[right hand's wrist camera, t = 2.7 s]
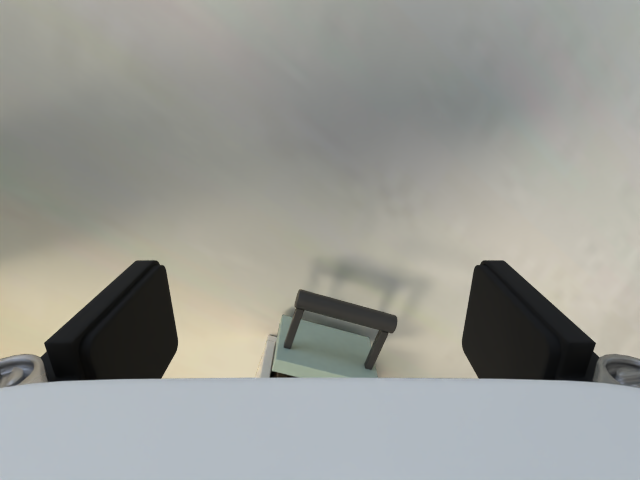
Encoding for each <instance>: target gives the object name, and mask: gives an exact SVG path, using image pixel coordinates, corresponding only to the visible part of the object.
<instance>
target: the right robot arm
mask: <svg viewBox="0 0 640 480" xmlns="http://www.w3.org/2000/svg"><path fill="white" fill-rule="evenodd" d="M44 344H45V347H46V350H47V352H46V353H45V354H44V355H43V356H42V357H38V356H36V355H31V354H21V355H14V356H10V357H6V358H2V359H0V480H640V359H638V358H634V357H630V356H626V355H619V354H609V355H604V356H602V357H598V356H597V355H596V354H595V353H594V352H593V350H594V347H595V344H596V343H595V342H594V341H593V340H592V339H591V338H590V337H588V336H587V335H586V334H585V333H584V332H583V331H582V330H581V329H580V328H578V327H577V326H576V325H575V324H574V323H573V322H572V321H571V320H570V319H568V318H567V317H566V316H565V315H564V314H563V313H562V312H561V311H560V310H558V309H557V308H556V307H555V306H554V305H553V304H552V303H551V302H550V301H548V300H547V299H546V298H545V297H544V296H543V295H542V294H541V293H539V292H538V291H537V290H536V289H535V288H534V287H533V286H532V285H531V284H529V283H528V282H527V281H526V280H525V279H524V278H523V277H522V276H521V275H519V274H518V273H517V272H516V271H515V270H514V269H513V268H512V267H511V266H509V265H508V264H507V263H506V262H505V261H482V262H481V264H480V265H477V266H476V267H475V268H474V273H473V279H472V285H471V290H470V296H469V302H468V308H467V314H466V320H465V326H464V331H463V337H462V347H463V351H464V353H465V355H466V357H467V358H468V360H469V362H470V364H471V365H472V367H473V369H474V371H475V373H476V374H477V376H478V378H479V379H459V378H183V379H161V378H162V376H163V374H164V373H165V371H166V369H167V367H168V365H169V364H170V362H171V360H172V358H173V357H174V355H175V353H176V351H177V347H178V337H177V331H176V326H175V320H174V314H173V308H172V302H171V296H170V290H169V285H168V279H167V273H166V268H165V267H164V266H163V265H160V264H159V262H158V261H135V262H134V263H133V264H132V265H131V266H129V267H128V268H127V269H126V270H125V271H124V272H123V273H122V274H121V275H119V276H118V277H117V278H116V279H115V280H114V281H113V282H112V283H111V284H109V285H108V286H107V287H106V288H105V289H104V290H103V291H102V292H101V293H99V294H98V295H97V296H96V297H95V298H94V299H93V300H92V301H90V302H89V303H88V304H87V305H86V306H85V307H84V308H83V309H82V310H80V311H79V312H78V313H77V314H76V315H75V316H74V317H73V318H72V319H70V320H69V321H68V322H67V323H66V324H65V325H64V326H63V327H62V328H60V329H59V330H58V331H57V332H56V333H55V334H54V335H53V336H52V337H50V338H49V339H48V340H47V341H46V342H45V343H44Z"/></svg>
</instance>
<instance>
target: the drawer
mask: <svg viewBox="0 0 640 480" xmlns="http://www.w3.org/2000/svg"><path fill="white" fill-rule="evenodd" d="M295 307H296V309H295V312H294V315H293V317H290V316H286V315H282V318H281V321H280V324H279V330H278V336H277V342H276V348H275V354H274V360H273V366H272V373H271V376H270V378H378V376H377V371H376V367H375V362H376V359H377V357H378V355H379V353H380V351H381V348H382V346H383V344H384V342H385V340H386V338H387V335H388V332H389V333H393V332H394V331H395V329H396V326H397V317H396V316H395V315H392V314H388V313H384V312H381V311H377V310H373V309H370V308H366V307H363V306H359V305H355V304H352V303H348V302H344V301H341V300H337V299H334V298H330V297H326V296H323V295H319V294H315V293H312V292H308V291H305V290H301V289H300V290H299V291H298V294H297V297H296V301H295ZM304 310H307V311H311V312H314V313H318V314H322V315H326V316H329V317H333V318H337V319H340V320H344V321H348V322H352V323H355V324H359V325H363V326H366V327H370V328H374V329H378V330H379V332H378V334H377V336H376V338H375V341H374V343H373V345H372V347H371V344H370V339H369V337H365V336H362V335H358V334H354V333H350V332H346V331H343V330H339V329H335V328H331V327H328V326H324V325H320V324H316V323H313V322H309V321H305V320H301V318H302V315H303V312H304Z"/></svg>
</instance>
